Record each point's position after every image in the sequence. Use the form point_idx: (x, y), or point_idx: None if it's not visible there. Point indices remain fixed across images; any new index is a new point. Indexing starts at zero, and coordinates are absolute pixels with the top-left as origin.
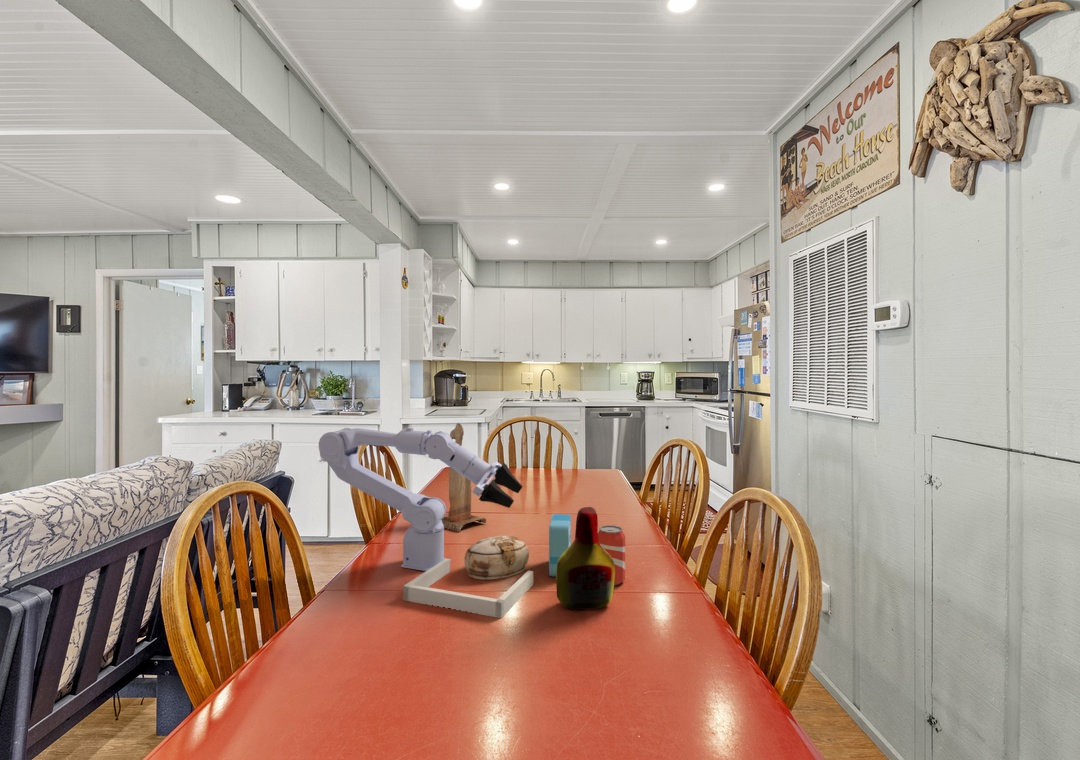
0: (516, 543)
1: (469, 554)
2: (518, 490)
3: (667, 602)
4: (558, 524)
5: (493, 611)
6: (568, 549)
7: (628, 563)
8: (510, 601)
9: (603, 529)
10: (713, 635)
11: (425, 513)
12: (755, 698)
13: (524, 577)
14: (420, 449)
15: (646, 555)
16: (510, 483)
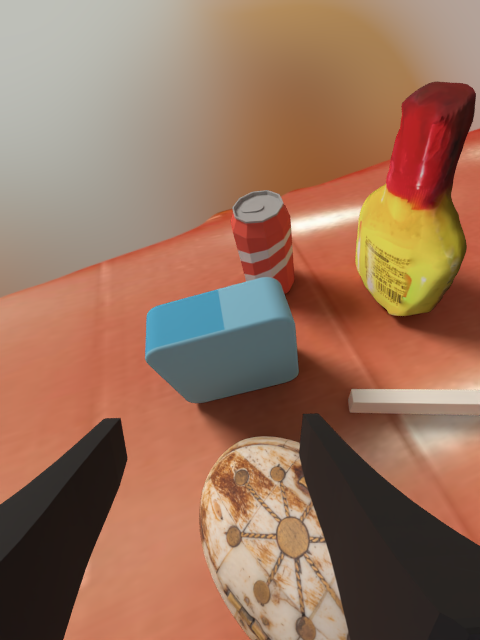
0: (279, 460)
1: None
2: (121, 451)
3: (313, 217)
4: (262, 299)
5: None
6: (451, 219)
7: (187, 282)
8: None
9: (257, 218)
10: (376, 174)
11: None
12: (477, 137)
13: (400, 394)
14: None
15: (149, 269)
16: (84, 513)
